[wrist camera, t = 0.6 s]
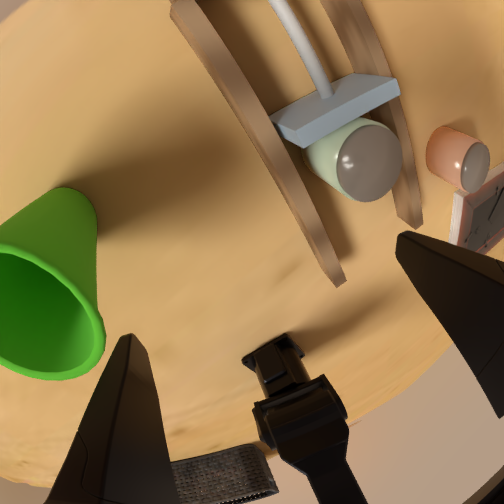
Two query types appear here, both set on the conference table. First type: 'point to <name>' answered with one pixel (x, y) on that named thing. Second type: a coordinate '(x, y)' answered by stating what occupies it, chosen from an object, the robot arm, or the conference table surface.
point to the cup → (50, 288)
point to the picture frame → (479, 214)
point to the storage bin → (224, 477)
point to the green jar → (357, 159)
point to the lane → (267, 139)
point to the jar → (458, 159)
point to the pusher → (325, 92)
